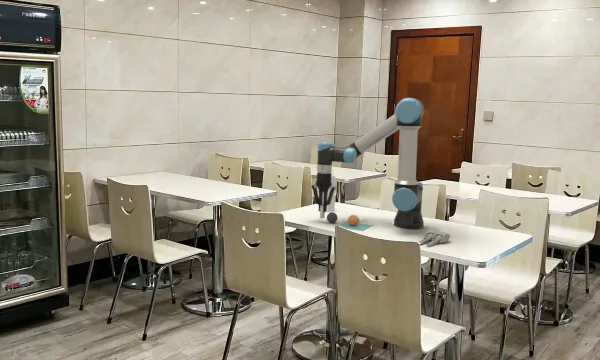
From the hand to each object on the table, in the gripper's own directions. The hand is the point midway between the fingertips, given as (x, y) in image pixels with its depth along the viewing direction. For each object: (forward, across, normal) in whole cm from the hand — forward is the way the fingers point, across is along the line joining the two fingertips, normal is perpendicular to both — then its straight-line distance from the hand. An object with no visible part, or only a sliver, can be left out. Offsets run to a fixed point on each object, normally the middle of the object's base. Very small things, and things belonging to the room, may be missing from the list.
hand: (322, 217), depth 303 cm
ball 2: (-1, +17, 0) cm, 17 cm away
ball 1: (-1, +6, 0) cm, 6 cm away
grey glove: (+3, +60, -11) cm, 61 cm away
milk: (+2, -9, +29) cm, 30 cm away
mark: (+2, +18, 0) cm, 18 cm away
